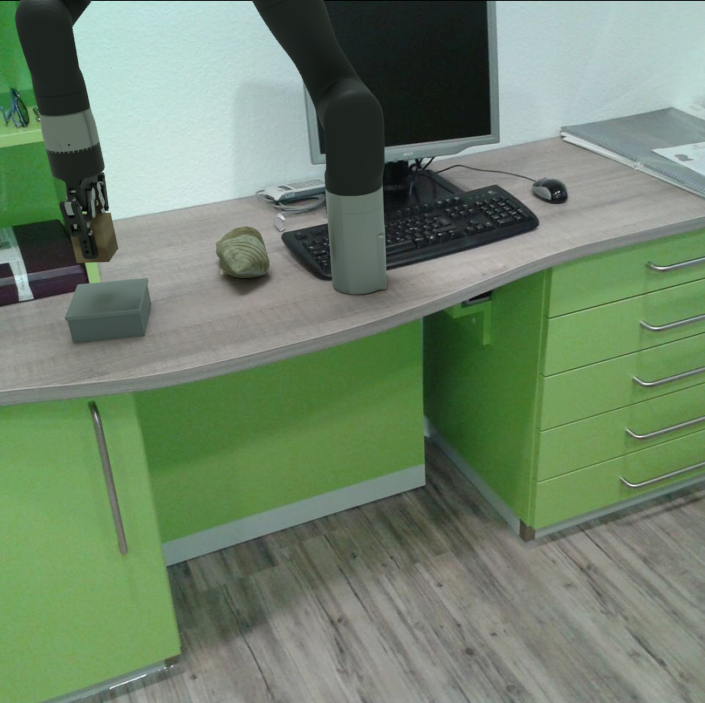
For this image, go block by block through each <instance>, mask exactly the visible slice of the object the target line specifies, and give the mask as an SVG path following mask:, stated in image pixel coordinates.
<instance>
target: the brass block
mask: <svg viewBox="0 0 705 703" xmlns="http://www.w3.org/2000/svg"><path fill="white" fill-rule="evenodd" d="M82 213H83V212H82ZM83 215H87V212H84V213H83ZM85 222H86V225H87V221H86V220H85ZM73 225H74V224H73ZM80 228H81V227H80ZM93 231H94V233H93V234H94V237H95V241H96V246H97V250H98V257H97V258H96V259H85V258H84V257H83V255H82V251H81V246H80V242H79V238H78V237H71V236H70V235H69V236H70V240H71V246H72V248H73V253H74V256H75V260H76V264H89V263H92V264H93V263H110V262H111V261H112V259H113V257H114V255H116V252H117V251H118V250H119V246H118V241H117V236H116V232H115V227H114V222H113V218H112V213H111V212H106V213H95V219H94V220H93Z"/></svg>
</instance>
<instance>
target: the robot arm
mask: <svg viewBox="0 0 705 703" xmlns="http://www.w3.org/2000/svg"><path fill="white" fill-rule="evenodd" d="M92 1H93V0H19V2H18V5H17V7H16V10H15V14H14V21H15V27H16V28H15V30H16V33H17V37H18V40H19V43H20V47H21V50H22V53H23V55H24V59H25V61H26V65H27V67H28V71H29V73H30V76H31V83H32V90H33V94H34V99H35V102H36V107H37V110H38V113H39V122H40V129H41V134H42V139H43V144H44V145H45V146H44V147H45V151H46V155H47V159H48V164H49V168H50V172H51V174H52V177H54V178H55V179H56V180H59V181H63V183H64V184H65V198H66V200H63V201H59V209H60V211H61V215H62V217H63V220H64V223H65V225H66V228H67V230H68V234H69V236H71V237H78V238H79V242H80V246H81V251H82V255H83V257H84V258H85V259H96V258H97V257H98V250H97V246H96V241H95V237H94V234H93V233H94V231H93V220H94V219H95V213H107V212H109V209H110V206H109V205H110V204H109V198H108V190H107V183H106V175H105V172H103V171H104V170H105V167H106V165H105V161H104V156H103V151H102V146H101V141H100V137H99V132H98V127H97V123H96V119H95V117H94V113H93V112H92V108H91V103H90V99H89V94H88V90H87V85H86V81H85V78H84V74H83V72H82V70H81V68H80V64H79V57H78V52H77V46H76V40H75V34H74V28H73V27H74V26H75V24H76V22H77V21H78V20H79V19H80V17H81V16H82V15H83V13H84V12H85V11H86V9H87V8H88V7H89V6H90V4H91V3H92ZM251 2H252V3H253V6H254V7H255V9H256V10H257V12H258V14H259V15H260V17H261V19H262V21H263V22H264V23H265V26H266V27H267V29H268V30H269V32H270V33H271V34H272V36H273V37H274V38H275V40H276V42H277V43H278V44H279V45H280V46H281V48H282V49H283V51H284V52H285V53H286V54H287V55H288V57H289V58H290V60H291V61H292V62H293V64H294V66H295V68H296V69H297V70H298V72H299V73H298V74H299V75H300V77H301V79H302V82H303V84H304V85H305V88H306V91H307V93H308V95H309V97H310V100H311V102H312V104H313V107H314V110H315V112H316V115H317V118H318V121H319V123H320V125H321V127H322V129H323V138H324V140H323V141H324V152H325V155H324V156H325V172H324V177H323V178H324V187H325V190H324V191H325V202H326V214H327V215H326V216H327V227H328V239H329V240H328V241H329V255H330V268H331V270H330V271H331V272H330V274H331V280H332V281H331V282H332V286H333V289H334V288H335V290H336V291H338V292H341V293H343V294H349V295H364V294H365V295H366V294H370V293H374V292H377V291H380V290H386V289H387V256H386V255H387V253H386V250H387V249H386V227H385V215H384V214H385V213H384V191H383V190H384V188H383V187H384V186H383V185H384V184H383V183H384V182H383V176H384V171H385V167H386V166H385V165H386V164H385V163H386V162H385V161H386V159H385V158H386V157H385V156H386V152H385V141H386V140H385V118H384V112H383V108H382V105H381V103H380V102H379V99H377V97H376V96H375V95H374V93H373V92H372V91H371V90H370V89H369V88H368V87H367V86H366V84H365V83H364V82H363V81H362V79H361V78H360V76H359V75H358V74H357V72H356V70H355V69H354V67H353V66H352V64H351V63H350V61H349V60H348V57H347V56H346V54H345V53H344V51H343V49H342V48H341V45H340V43H339V42H338V40H337V37H336V35H335V31H334V28H333V25H332V23H331V19H330V15H329V12H328V10H327V7H326V6H327V5H326V4H325V1H324V0H251ZM83 212H84V213H87V215H83ZM85 220H86V221H87V225H86V222H85ZM73 224H74V225H73ZM80 227H81V228H80ZM71 237H70V238H71Z"/></svg>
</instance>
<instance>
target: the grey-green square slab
mask: <svg viewBox="0 0 705 703" xmlns="http://www.w3.org/2000/svg"><path fill="white" fill-rule="evenodd" d="M148 283H149V278H148V277H143V278H134V279H133V278H131V279H122V280H111V281H110V280H109V281H102V282H101V281H100V282H89V283H80V284H77V286H76V288H75V290H74V293H73V295H72V298H71V300H70V303H69V306H68V308H67V310H66V313H65V316H64V319H65V322H67V324H68V328H69V332H70V335H71V339H72V343H73V342H79V343H88V341H89V342H98V341H106V340H108V341H109V340H116V339H127V338H136V337H145V336H146V330H147V327H148V322H149V316H150V313H151V307H152V301H151V300H152V299H151V296H150V290H149V285H148ZM85 341H86V342H85Z"/></svg>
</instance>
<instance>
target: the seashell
mask: <svg viewBox="0 0 705 703" xmlns="http://www.w3.org/2000/svg"><path fill="white" fill-rule="evenodd" d="M264 241H265V240H264V238H263V236H262V234H261V232H260V230H258V229H256V228H255V227H251V226H240V227H236V228H233V229H232V230H230V231H228V232H227V233H225V234H224V235H223V236H222V237H221V238H220V239H219V240H217V241H216V242H215V246H216V249H215V254H216V256H217V258H219V262H218V267H219V268H220V270H222V271H223V272H224V273H226V274H228V275H229V276H231V277H234V278H236V279H237V278H238V279H250V278H257V277H258V278H259V277H260V276H265V275H266V274H267V273H268V271H269V268H270V258H269V255H268V252H267V249H266V245H265V242H264Z"/></svg>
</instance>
